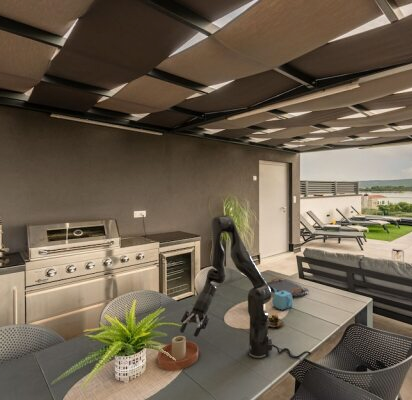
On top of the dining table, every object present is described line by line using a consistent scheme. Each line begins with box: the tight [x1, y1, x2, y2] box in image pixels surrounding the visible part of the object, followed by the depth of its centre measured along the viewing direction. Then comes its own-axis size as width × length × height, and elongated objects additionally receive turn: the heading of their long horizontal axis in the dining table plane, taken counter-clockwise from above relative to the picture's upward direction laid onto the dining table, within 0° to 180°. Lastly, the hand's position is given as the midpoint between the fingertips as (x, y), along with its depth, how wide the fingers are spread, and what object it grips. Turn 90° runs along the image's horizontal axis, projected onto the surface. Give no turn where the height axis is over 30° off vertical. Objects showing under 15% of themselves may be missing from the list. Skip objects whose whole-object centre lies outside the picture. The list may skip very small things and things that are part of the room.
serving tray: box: [266, 277, 310, 297], centre depth 228 cm, size 39×23×6 cm, turn 34°
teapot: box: [271, 288, 294, 311], centre depth 194 cm, size 12×18×12 cm
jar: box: [171, 335, 187, 361], centre depth 131 cm, size 6×6×8 cm
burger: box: [268, 311, 284, 329], centre depth 166 cm, size 12×12×8 cm
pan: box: [157, 340, 200, 371], centre depth 131 cm, size 18×18×4 cm
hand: (188, 334), depth 136 cm, fingers open, 8 cm apart
